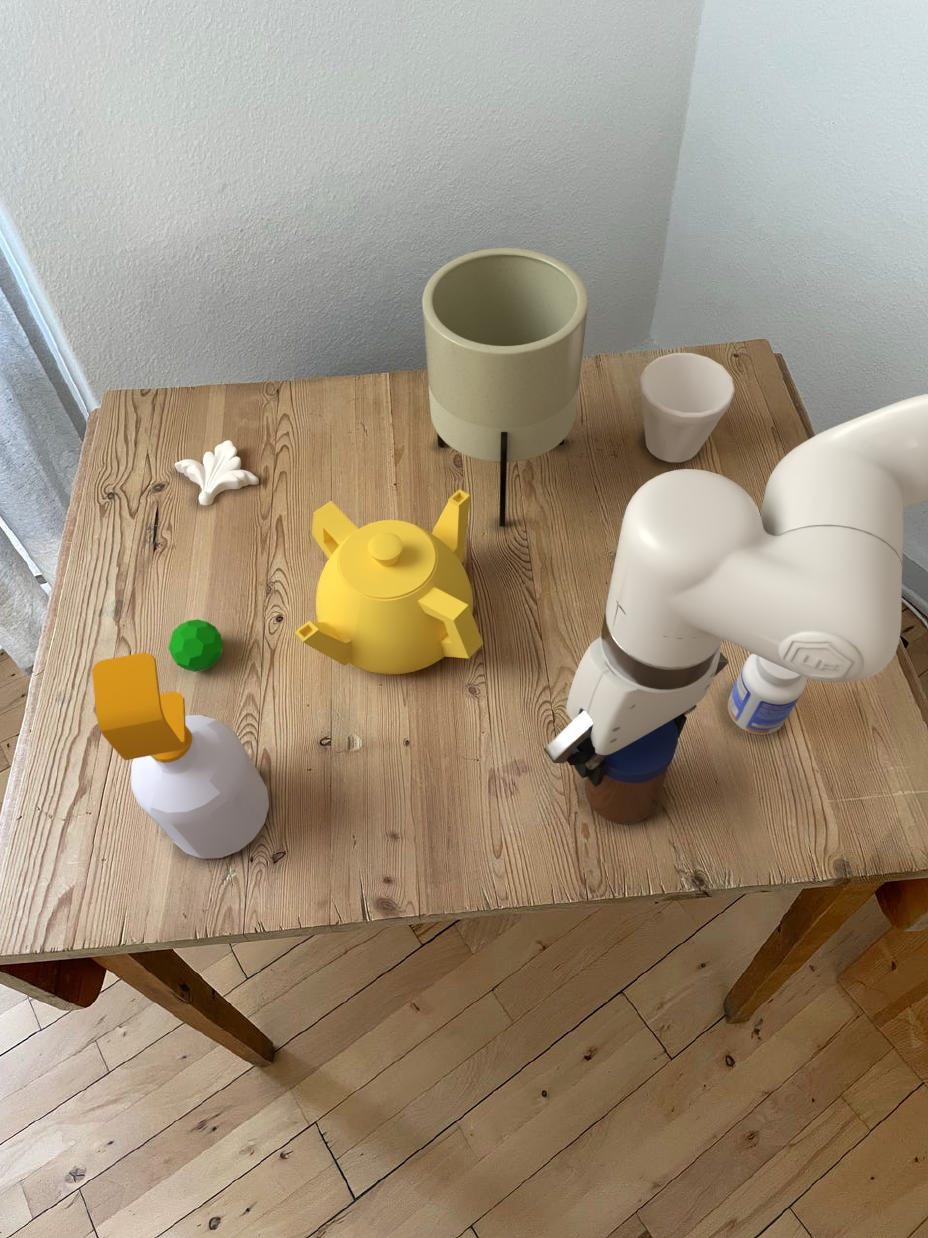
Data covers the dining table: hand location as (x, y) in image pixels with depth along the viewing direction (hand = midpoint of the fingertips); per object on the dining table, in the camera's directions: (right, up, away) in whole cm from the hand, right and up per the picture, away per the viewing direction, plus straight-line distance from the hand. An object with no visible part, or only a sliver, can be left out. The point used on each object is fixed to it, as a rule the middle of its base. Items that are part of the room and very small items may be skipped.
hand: (625, 747), depth 71 cm
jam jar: (+1, -5, +7) cm, 8 cm away
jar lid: (0, +1, -2) cm, 3 cm away
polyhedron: (-39, +7, +16) cm, 43 cm away
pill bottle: (+14, +2, +11) cm, 18 cm away
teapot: (-20, +11, +18) cm, 29 cm away
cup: (+11, +31, +30) cm, 44 cm away
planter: (-9, +28, +28) cm, 40 cm away
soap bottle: (-35, -7, +7) cm, 36 cm away
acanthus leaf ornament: (-41, +27, +29) cm, 57 cm away
